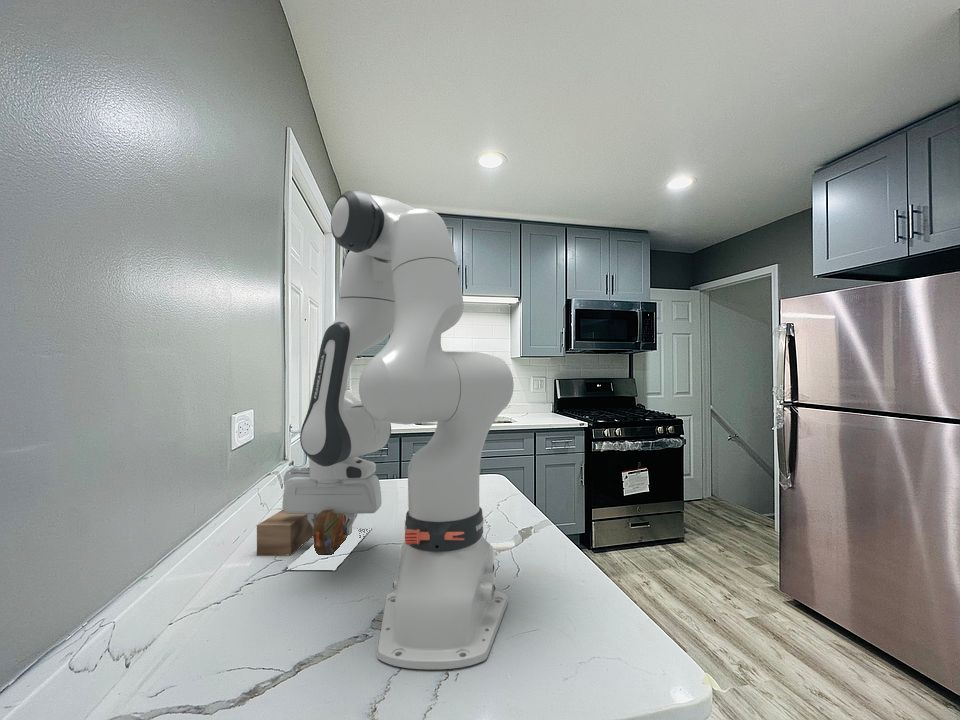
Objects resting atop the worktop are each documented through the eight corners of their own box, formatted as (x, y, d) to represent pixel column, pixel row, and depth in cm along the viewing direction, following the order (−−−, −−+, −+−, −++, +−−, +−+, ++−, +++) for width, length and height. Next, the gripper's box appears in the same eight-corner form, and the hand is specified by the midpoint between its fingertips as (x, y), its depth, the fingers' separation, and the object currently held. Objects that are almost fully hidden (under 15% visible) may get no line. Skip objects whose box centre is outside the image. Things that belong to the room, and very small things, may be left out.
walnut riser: (290, 555, 87) (290, 525, 88) (256, 555, 88) (256, 525, 88) (330, 521, 107) (330, 497, 108) (303, 521, 108) (303, 497, 108)
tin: (326, 562, 83) (326, 517, 84) (310, 562, 83) (309, 517, 84) (351, 533, 98) (350, 495, 99) (337, 533, 98) (337, 496, 99)
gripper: (276, 471, 89) (276, 539, 89) (374, 470, 88) (375, 539, 87) (291, 464, 95) (291, 528, 95) (383, 463, 94) (384, 528, 94)
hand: (332, 534), depth 91 cm, fingers open, 5 cm apart
